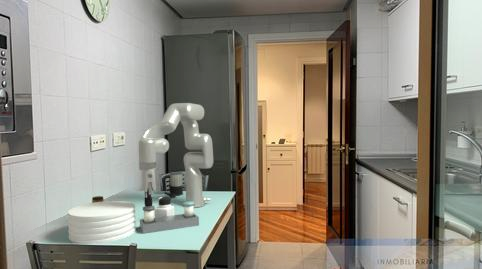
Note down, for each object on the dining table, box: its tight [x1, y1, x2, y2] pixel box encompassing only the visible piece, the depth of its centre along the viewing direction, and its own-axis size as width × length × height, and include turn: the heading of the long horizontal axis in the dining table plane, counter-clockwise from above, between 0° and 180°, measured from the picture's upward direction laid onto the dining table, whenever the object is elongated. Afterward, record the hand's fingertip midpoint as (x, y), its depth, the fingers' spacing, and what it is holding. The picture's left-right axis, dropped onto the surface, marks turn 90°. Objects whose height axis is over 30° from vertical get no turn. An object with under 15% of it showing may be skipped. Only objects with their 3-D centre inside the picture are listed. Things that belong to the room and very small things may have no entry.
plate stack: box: [67, 200, 137, 245], centre depth 156 cm, size 28×28×12 cm
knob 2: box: [182, 200, 195, 218], centre depth 168 cm, size 5×5×7 cm
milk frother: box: [162, 171, 184, 199], centre depth 232 cm, size 14×16×15 cm
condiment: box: [91, 195, 104, 203], centre depth 177 cm, size 7×8×12 cm
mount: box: [139, 213, 200, 235], centre depth 164 cm, size 26×9×4 cm, turn 115°
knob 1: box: [142, 205, 156, 223], centre depth 159 cm, size 5×5×7 cm
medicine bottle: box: [154, 196, 175, 218], centre depth 173 cm, size 7×7×12 cm
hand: (148, 205), depth 159 cm, fingers closed
